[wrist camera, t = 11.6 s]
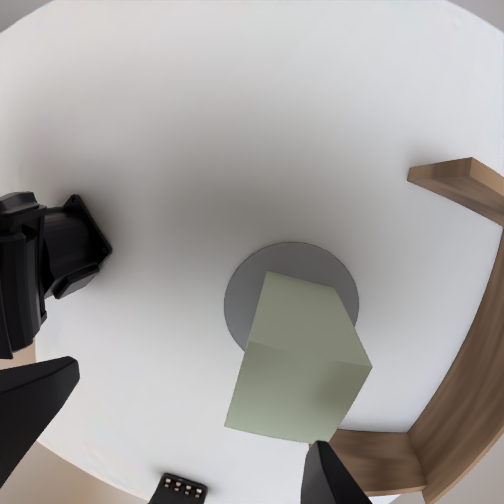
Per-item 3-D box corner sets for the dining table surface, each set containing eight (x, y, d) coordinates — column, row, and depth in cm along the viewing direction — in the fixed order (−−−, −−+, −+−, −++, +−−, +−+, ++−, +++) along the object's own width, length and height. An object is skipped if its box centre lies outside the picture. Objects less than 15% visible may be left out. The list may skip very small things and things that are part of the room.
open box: (308, 432, 23) (310, 515, 13) (409, 168, 18) (496, 153, 8) (409, 438, 22) (433, 503, 12) (511, 220, 17) (588, 237, 7)
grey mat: (199, 292, 21) (197, 295, 21) (309, 213, 19) (309, 214, 19) (275, 382, 22) (274, 386, 22) (378, 320, 20) (380, 323, 20)
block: (250, 332, 21) (224, 426, 11) (266, 270, 20) (248, 340, 10) (313, 347, 20) (326, 445, 11) (334, 288, 19) (372, 367, 10)
